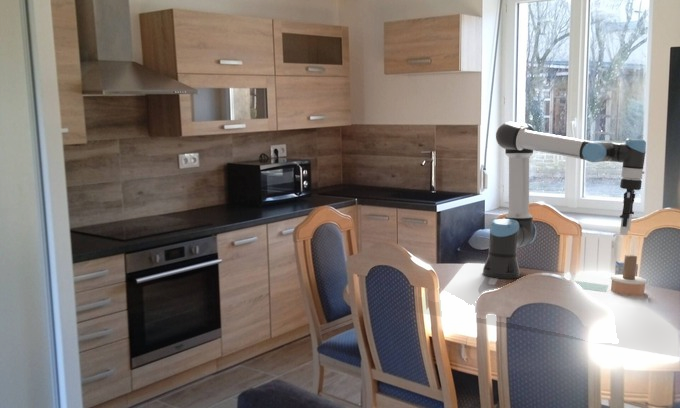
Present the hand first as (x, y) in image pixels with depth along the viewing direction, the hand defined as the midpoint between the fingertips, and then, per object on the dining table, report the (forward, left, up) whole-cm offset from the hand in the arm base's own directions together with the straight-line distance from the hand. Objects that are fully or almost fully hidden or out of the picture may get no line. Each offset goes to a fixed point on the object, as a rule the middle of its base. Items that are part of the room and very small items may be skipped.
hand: (624, 232), depth 273 cm
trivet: (-11, -2, -23) cm, 26 cm away
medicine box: (+1, +17, -24) cm, 29 cm away
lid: (+3, -2, -18) cm, 19 cm away
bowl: (+3, -2, -23) cm, 24 cm away
